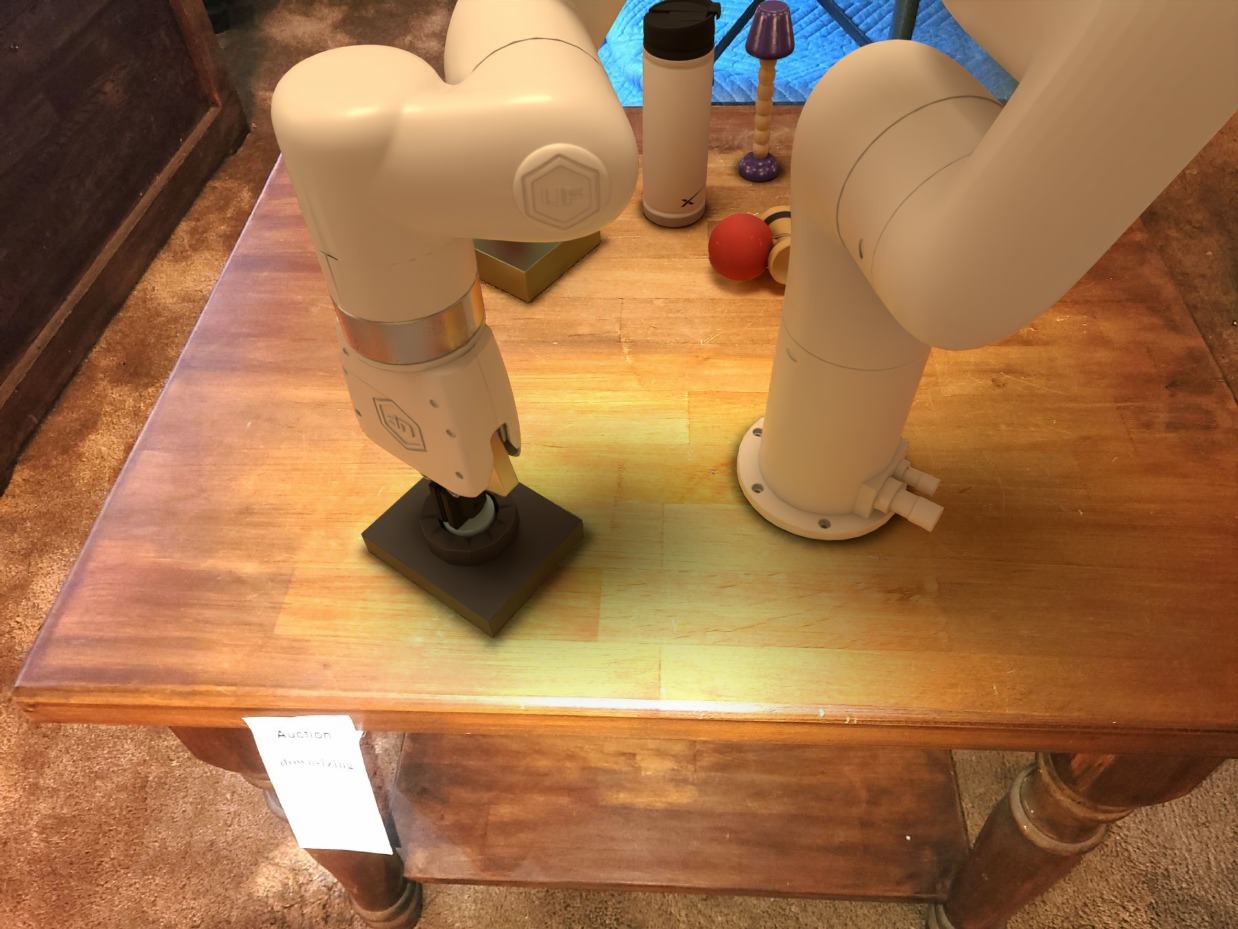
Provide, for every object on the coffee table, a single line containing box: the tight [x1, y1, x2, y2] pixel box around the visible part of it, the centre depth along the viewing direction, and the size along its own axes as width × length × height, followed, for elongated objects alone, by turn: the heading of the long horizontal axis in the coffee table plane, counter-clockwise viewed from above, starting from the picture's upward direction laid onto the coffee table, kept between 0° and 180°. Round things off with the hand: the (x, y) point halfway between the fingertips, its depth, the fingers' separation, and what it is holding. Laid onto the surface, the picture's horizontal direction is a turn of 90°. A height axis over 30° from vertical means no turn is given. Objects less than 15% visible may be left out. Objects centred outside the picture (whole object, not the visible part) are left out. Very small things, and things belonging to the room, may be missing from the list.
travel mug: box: [641, 0, 722, 228], centre depth 81 cm, size 6×7×20 cm
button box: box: [360, 476, 585, 639], centre depth 62 cm, size 12×10×4 cm
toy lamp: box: [737, 0, 796, 182], centre depth 86 cm, size 5×5×17 cm
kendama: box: [707, 204, 791, 286], centre depth 80 cm, size 8×6×18 cm
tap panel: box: [473, 230, 602, 303], centre depth 84 cm, size 14×11×4 cm
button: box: [443, 494, 497, 537], centre depth 61 cm, size 4×4×2 cm
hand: (463, 510), depth 60 cm, fingers closed
